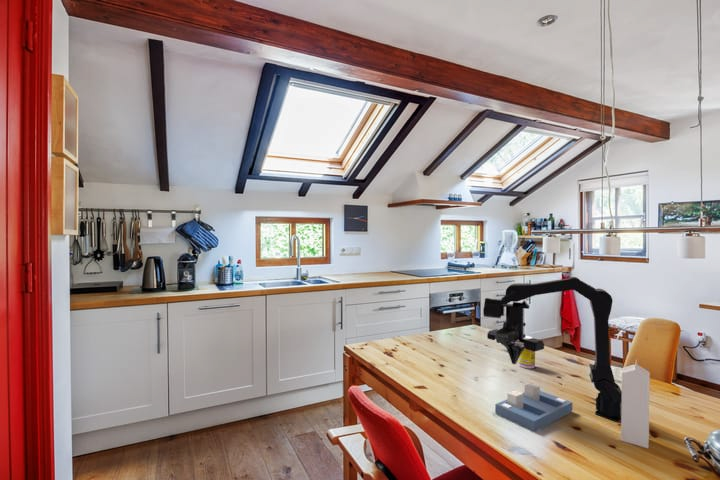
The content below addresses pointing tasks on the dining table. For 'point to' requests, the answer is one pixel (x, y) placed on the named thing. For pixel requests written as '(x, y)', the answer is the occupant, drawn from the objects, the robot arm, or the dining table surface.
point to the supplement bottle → (527, 357)
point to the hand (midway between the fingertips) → (514, 363)
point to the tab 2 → (532, 391)
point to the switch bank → (535, 411)
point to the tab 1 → (515, 399)
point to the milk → (635, 405)
